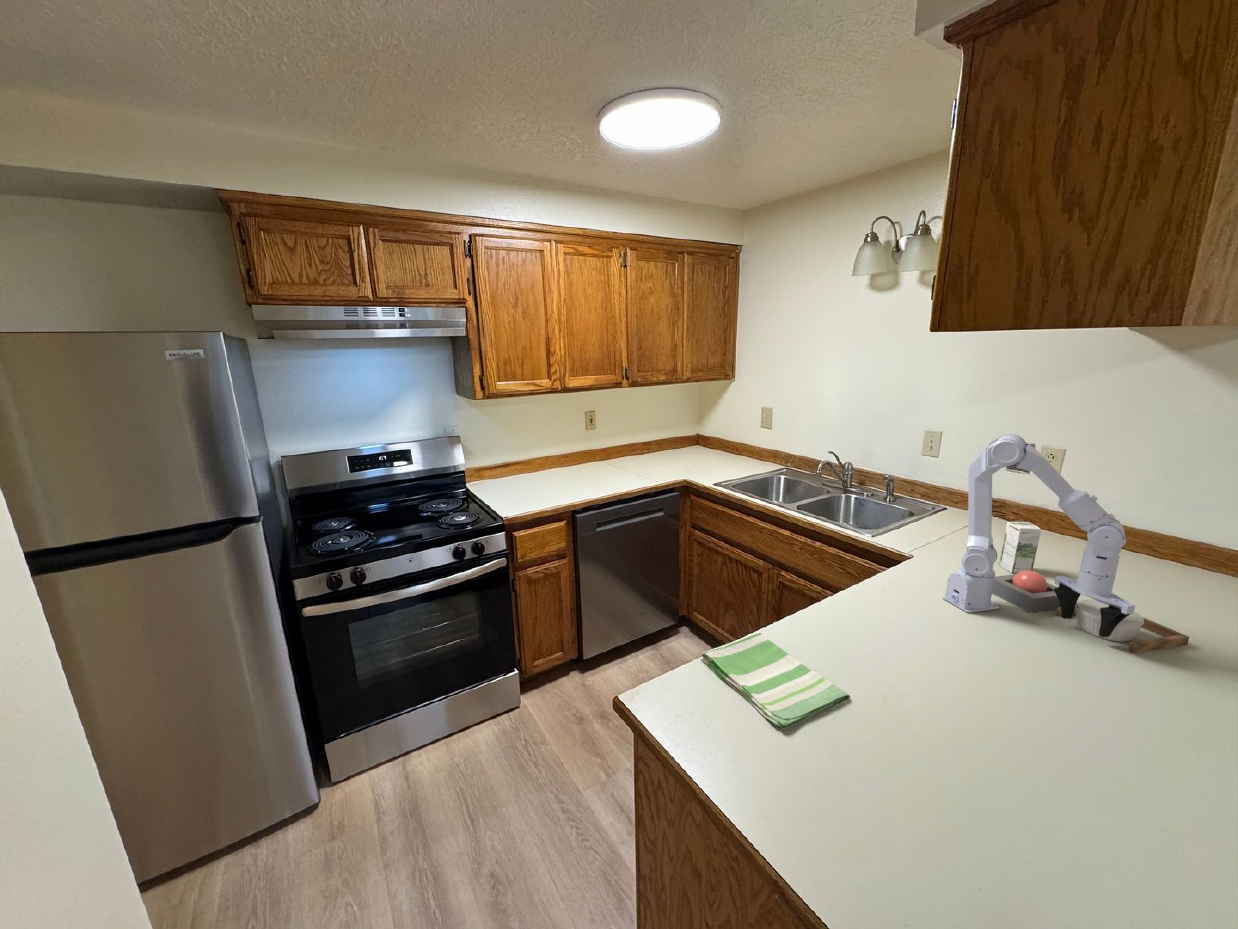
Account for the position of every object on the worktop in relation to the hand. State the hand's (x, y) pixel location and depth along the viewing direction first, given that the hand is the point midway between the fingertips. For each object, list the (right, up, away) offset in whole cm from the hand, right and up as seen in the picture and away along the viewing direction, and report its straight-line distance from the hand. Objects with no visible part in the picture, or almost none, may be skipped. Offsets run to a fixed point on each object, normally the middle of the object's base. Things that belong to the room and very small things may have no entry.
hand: (1084, 626), depth 111 cm
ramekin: (+6, -2, +2) cm, 6 cm away
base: (0, +2, +16) cm, 17 cm away
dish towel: (-77, -6, -14) cm, 78 cm away
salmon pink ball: (+1, +3, +16) cm, 17 cm away
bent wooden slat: (+9, -1, +2) cm, 10 cm away
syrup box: (+11, +5, +33) cm, 36 cm away
